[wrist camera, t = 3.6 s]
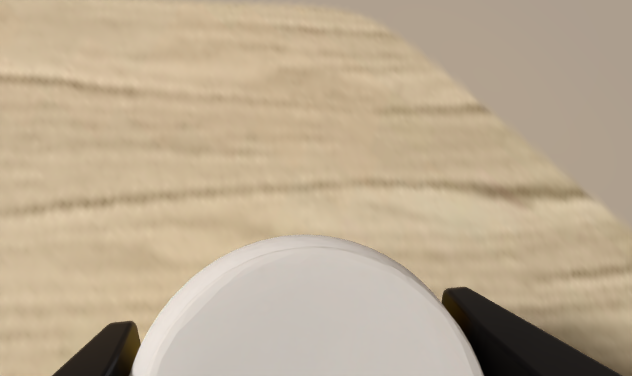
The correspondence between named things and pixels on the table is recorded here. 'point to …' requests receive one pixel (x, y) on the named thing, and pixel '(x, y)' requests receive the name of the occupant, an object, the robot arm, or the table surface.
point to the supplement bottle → (305, 317)
